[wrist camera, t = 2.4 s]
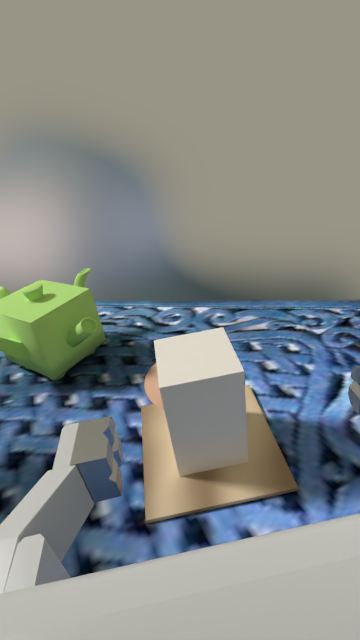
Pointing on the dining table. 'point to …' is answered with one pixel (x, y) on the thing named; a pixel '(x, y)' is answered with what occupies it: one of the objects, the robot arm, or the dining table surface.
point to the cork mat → (212, 485)
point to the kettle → (50, 325)
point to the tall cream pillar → (203, 400)
